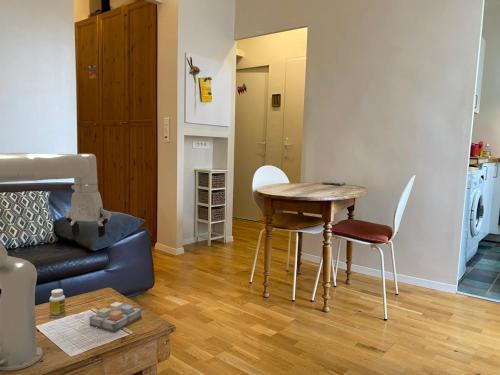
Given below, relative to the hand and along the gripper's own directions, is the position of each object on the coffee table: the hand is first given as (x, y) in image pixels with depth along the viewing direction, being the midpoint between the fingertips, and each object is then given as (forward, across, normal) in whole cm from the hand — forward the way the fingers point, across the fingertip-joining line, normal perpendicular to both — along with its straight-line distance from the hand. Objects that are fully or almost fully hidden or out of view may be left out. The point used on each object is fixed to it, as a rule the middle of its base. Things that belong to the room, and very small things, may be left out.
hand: (88, 235), depth 140 cm
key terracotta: (+31, +9, -1) cm, 32 cm away
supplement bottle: (+34, -17, +5) cm, 38 cm away
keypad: (+34, +7, +3) cm, 34 cm away
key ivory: (+31, +6, +6) cm, 32 cm away
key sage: (+31, +4, +1) cm, 31 cm away
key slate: (+31, +11, +5) cm, 33 cm away
